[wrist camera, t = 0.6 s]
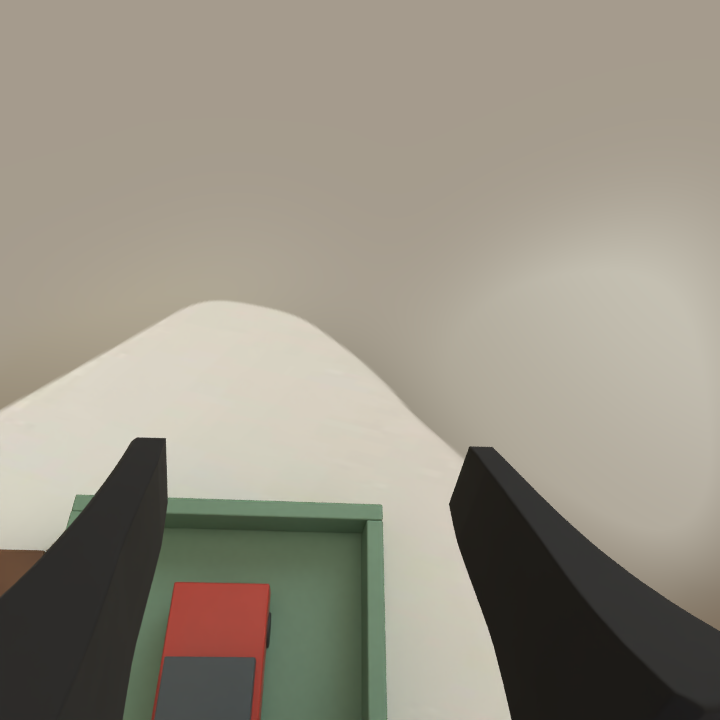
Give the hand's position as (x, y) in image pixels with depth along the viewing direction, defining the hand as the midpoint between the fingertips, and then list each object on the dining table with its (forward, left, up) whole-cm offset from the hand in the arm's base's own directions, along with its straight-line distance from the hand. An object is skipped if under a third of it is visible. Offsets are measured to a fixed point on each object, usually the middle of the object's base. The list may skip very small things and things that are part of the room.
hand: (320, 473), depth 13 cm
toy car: (-4, +4, -17) cm, 18 cm away
